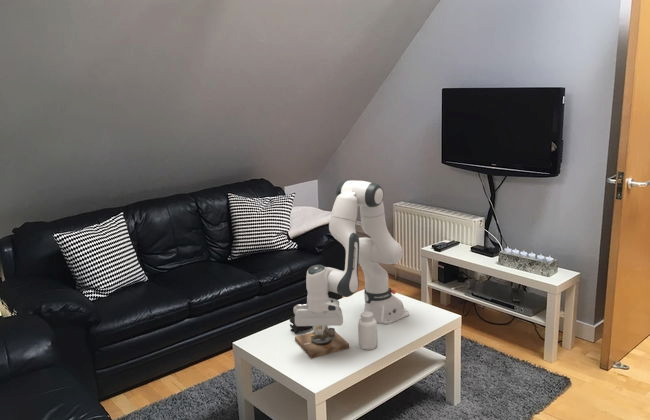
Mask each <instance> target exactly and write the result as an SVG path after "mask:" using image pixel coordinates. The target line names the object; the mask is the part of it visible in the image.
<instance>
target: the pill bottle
mask: <svg viewBox="0 0 650 420" xmlns="http://www.w3.org/2000/svg"><path fill="white" fill-rule="evenodd" d="M377 324H378V323H377V322H376V320H375V319H374V318H373V313H372V312H364V311H363V312H361V313H360V319H358V322H357V328H358V329H357V330H358V331H357V332H358V335H357V336H358V346H359V348H360V349H362V350H366V351H367V350H368V351H369V350H373V349H374V350H375V349H376V347H377V346H378V329H377V327H378V326H377Z"/></svg>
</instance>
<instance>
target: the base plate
mask: <svg viewBox="0 0 650 420" xmlns="http://www.w3.org/2000/svg"><path fill="white" fill-rule="evenodd" d="M313 333H314V331H313V332H308V333H304V334H300V335H295V336H294V341H295V343H297V345H298V346H299V347H300V348H301V349H302V350H303V351H304V353H305V354H307V356H308V357H309V359H315V358H318V357H322V356H325V355H330V354H333V353H337V352H340V351H341V352H342V351H344V350H345V351H346V350H348V349H350V343H349V342H348V341H347V340H345V339H344V338H343V337H342V336H341V335H340V334H339V333H338V332H337V331H336V330H335V339H332V341H331V342H330V343H329V344H326V345H315V344H313V343H312V342H311V335H312V334H313Z"/></svg>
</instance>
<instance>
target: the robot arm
mask: <svg viewBox="0 0 650 420" xmlns="http://www.w3.org/2000/svg"><path fill="white" fill-rule="evenodd" d="M335 197H336V198H335V200H334V203H333V206H332V210H331V212H330V218H329V222H328V231H329V233H330V234H331V236H332V237H333V238H334V239H335V240H336V241H337V242H339V243H340V244H341V245H342V246H343V247H344V250H345V259H344V263H345V264H344V270H340V269H338V268H334V267H330V266H325V265H322V264H315V265H314V264H313V265H311V266H310V267H308V269H307V271H306V276H305V278H306V279H305V280H306V281H305V282H306V290H307V296H306V303H303V304H302V303H301V304H300V303H299V304H296V305H295V306H293V314H294V317H295V325H296V326H313V328H312V329H313V331H314V330H315V332H316V335H323V331H324V329H325V326H328V327H329V326H330V327H331V326H333V327H335V326H337V327H338V326H340V327H341V326H342V325H343V323H344V316H343V310H342V308H341V307H340V301H339V300H338V299H335V298H333V297H329V294H328V293H329V292H330V293H331V292H332V293H335V294H338V295H339V296H343V297H345V298H349V297H352V296H353V295H355V293H357V291H358V290H359V289H358V288H359V286H360V285H359V284H360V283H359V282H360V281H359V265H360V267H361V269H362V272H363V276H364V277H363V278H364V286H365V288H364V291H363V293H364V294H363V295H364V297H363V298H364V308H363V312H372V313H373V318H374V319H375V320H376V322H377V324H383V325H389V324H391V323H393V322H397V321H399V320H401V319H404V318H406V317H409V316H410V312H409V310H408V309H407V308H406V307H405V306H404V303H403V301H402V300H401V299H399V298H398V297H397V296H395V295H396V294H397V290H396V289H394V288H391V287H389V273H388V272H387V271H386V269H384V268H383V267H382V266H381V265H380V264H384V265H392V264H394V265H396V264H398V263H399V262H400V261H401V260H402V258H403V254H404V250H403V247H402V245H401V244H400V243H399V242H398V241H396V240H395V238H394V237H392V235H391V233H390V232H389V230H388V227H387V223H386V215H385V206H384V201H383V200H384V197H385V192H384V189H383V188H382V186H381V185H380V184H378V183H376V182H370V181H365V180H355V179H354V180H351V179H344V180H341V181H340V182H339V183H338V184H337V186H336V188H335ZM358 207H359V209H358ZM358 210H359V213H360V214H359V215H360V222H361V223H360V224H361V229H362V231H363V232H364V233H365V234H366V235H367V236H368V237H365V236H364V237H359V236H358V234H357V230H356V224H357V220H358V219H357V218H358ZM316 326H322V329H321V330H318V329H317V328H316Z"/></svg>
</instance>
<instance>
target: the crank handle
mask: <svg viewBox="0 0 650 420" xmlns="http://www.w3.org/2000/svg"><path fill="white" fill-rule="evenodd" d="M316 328H317V329H318V330H321V329H322V326H316ZM335 331H336V328H334V327H329V326H325V329H324V331H323V335H316V332H315V330H314V329H313V332H314V334H312V335H311V338H314V337H316V338H318V339H323V338H326V337H328V336H329V337H330V338H331V339H335Z"/></svg>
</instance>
